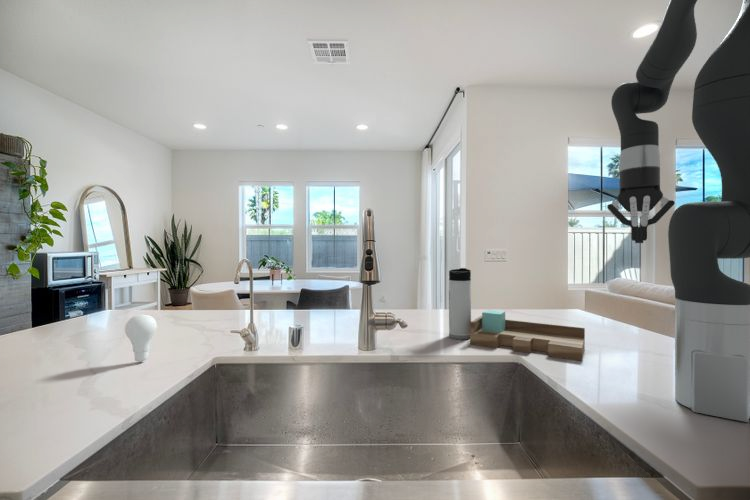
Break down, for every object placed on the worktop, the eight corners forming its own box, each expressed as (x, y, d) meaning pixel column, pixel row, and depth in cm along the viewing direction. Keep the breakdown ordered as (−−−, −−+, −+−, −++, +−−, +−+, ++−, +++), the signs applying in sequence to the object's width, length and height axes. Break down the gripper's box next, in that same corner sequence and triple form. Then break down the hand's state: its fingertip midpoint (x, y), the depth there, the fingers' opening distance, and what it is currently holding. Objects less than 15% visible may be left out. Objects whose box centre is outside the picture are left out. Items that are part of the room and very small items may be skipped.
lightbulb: (160, 362, 80) (160, 314, 80) (128, 368, 75) (128, 318, 75) (152, 356, 84) (152, 311, 84) (122, 362, 79) (121, 314, 79)
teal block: (500, 332, 94) (500, 314, 94) (482, 330, 97) (482, 312, 97) (505, 329, 98) (505, 311, 98) (487, 327, 101) (487, 309, 101)
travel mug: (474, 335, 103) (474, 268, 103) (467, 340, 97) (467, 269, 97) (453, 333, 106) (453, 267, 106) (445, 337, 101) (445, 268, 100)
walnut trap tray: (582, 361, 79) (582, 334, 79) (470, 344, 94) (470, 321, 94) (584, 349, 89) (584, 325, 89) (482, 335, 103) (482, 315, 103)
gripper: (604, 169, 81) (604, 243, 81) (679, 161, 74) (679, 242, 74) (605, 174, 87) (605, 243, 88) (673, 167, 80) (673, 243, 80)
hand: (639, 243), depth 81 cm, fingers closed
